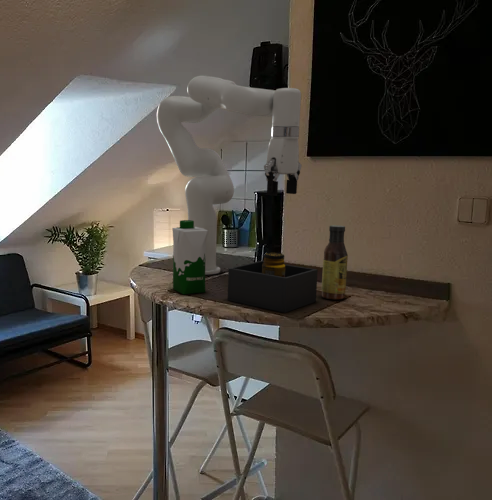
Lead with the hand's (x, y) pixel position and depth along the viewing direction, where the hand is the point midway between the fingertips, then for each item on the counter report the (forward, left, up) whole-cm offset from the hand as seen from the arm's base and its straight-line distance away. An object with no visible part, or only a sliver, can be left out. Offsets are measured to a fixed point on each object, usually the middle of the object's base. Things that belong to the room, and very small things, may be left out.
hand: (281, 194), depth 167 cm
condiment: (+7, -16, -27) cm, 32 cm away
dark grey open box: (+7, -15, -27) cm, 32 cm away
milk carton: (-16, -22, -28) cm, 39 cm away
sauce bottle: (+17, 0, -28) cm, 33 cm away
